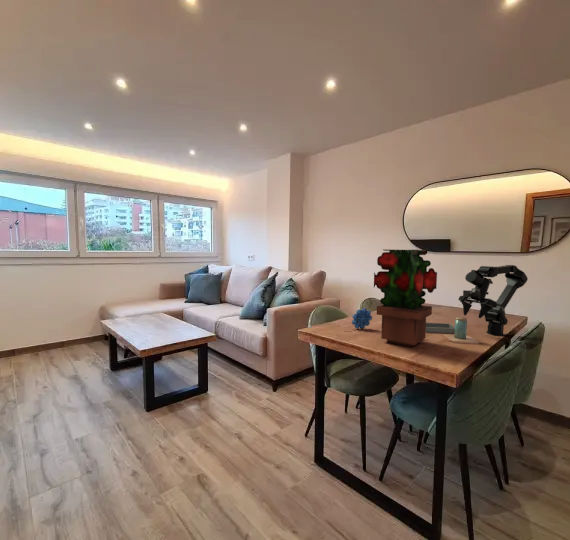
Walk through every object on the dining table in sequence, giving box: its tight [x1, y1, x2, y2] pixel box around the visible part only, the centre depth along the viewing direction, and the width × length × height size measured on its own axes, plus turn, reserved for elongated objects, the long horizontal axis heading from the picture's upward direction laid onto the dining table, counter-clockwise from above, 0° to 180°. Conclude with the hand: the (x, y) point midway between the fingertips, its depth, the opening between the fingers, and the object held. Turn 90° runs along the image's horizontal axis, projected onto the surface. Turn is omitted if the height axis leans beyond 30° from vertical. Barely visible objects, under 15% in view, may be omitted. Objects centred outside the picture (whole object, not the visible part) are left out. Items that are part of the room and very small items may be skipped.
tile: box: [442, 333, 480, 345], centre depth 150 cm, size 12×12×1 cm
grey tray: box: [426, 322, 455, 335], centre depth 166 cm, size 18×12×4 cm, turn 83°
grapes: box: [351, 307, 373, 330], centre depth 170 cm, size 12×7×12 cm, turn 93°
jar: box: [453, 316, 468, 339], centre depth 150 cm, size 5×5×10 cm
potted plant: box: [373, 248, 438, 348], centre depth 144 cm, size 22×22×45 cm
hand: (471, 316), depth 155 cm, fingers open, 9 cm apart
